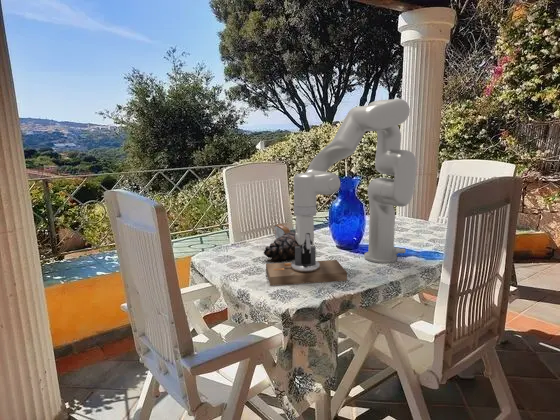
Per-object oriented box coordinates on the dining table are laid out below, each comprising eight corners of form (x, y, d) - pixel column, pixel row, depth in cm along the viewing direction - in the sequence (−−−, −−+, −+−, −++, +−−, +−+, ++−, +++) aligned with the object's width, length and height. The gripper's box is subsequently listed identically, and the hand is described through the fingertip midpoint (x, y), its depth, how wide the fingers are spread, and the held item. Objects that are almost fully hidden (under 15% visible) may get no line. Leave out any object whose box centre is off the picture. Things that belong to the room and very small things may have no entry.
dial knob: (318, 262, 145) (318, 242, 144) (320, 272, 135) (321, 251, 134) (284, 262, 145) (284, 243, 144) (284, 272, 136) (284, 251, 134)
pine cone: (260, 261, 157) (259, 236, 155) (291, 250, 170) (291, 227, 168) (279, 267, 150) (279, 241, 148) (310, 256, 163) (310, 232, 161)
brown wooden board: (336, 267, 149) (336, 259, 148) (346, 280, 136) (347, 271, 136) (266, 271, 146) (265, 263, 145) (270, 285, 133) (270, 276, 132)
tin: (292, 248, 173) (292, 229, 172) (285, 249, 172) (285, 230, 170) (279, 239, 187) (279, 221, 185) (273, 240, 186) (273, 222, 184)
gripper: (290, 206, 144) (290, 255, 147) (298, 215, 128) (298, 271, 132) (311, 205, 145) (311, 254, 148) (321, 215, 129) (320, 269, 132)
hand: (305, 261), depth 140 cm, fingers closed on dial knob, 2 cm apart
